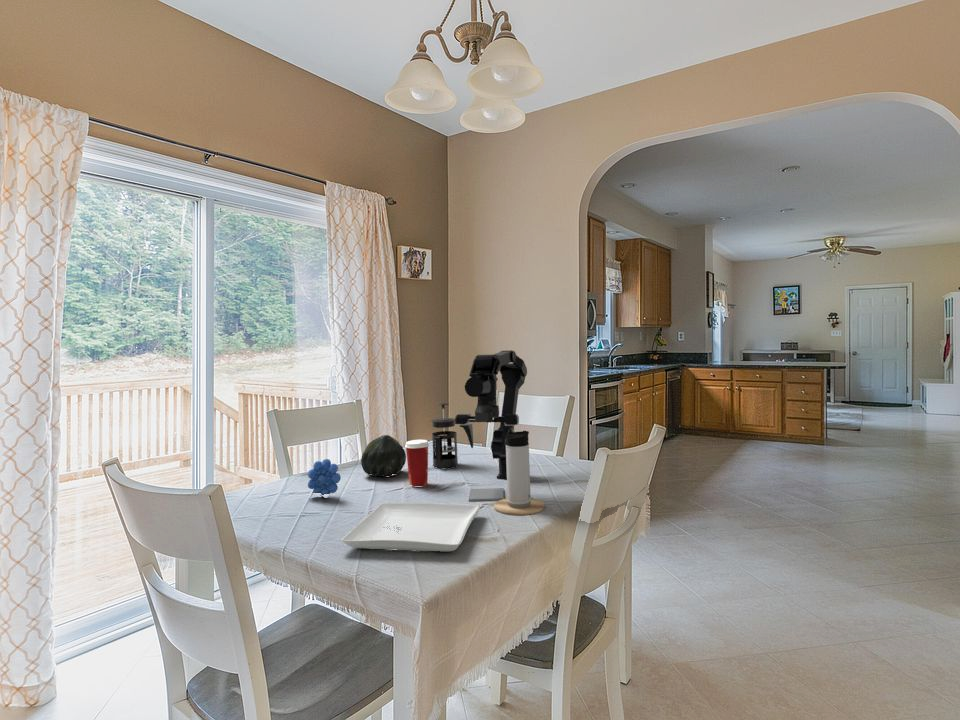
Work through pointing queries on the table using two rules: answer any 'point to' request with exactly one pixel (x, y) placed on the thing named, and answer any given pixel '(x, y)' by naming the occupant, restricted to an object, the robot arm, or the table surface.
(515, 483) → the travel mug
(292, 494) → the table surface
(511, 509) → the cork trivet
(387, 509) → the square plate
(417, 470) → the paper cup
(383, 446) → the squash
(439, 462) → the french press
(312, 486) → the blue lobed thick disc
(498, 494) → the stone coaster
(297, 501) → the table surface
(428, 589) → the table surface
